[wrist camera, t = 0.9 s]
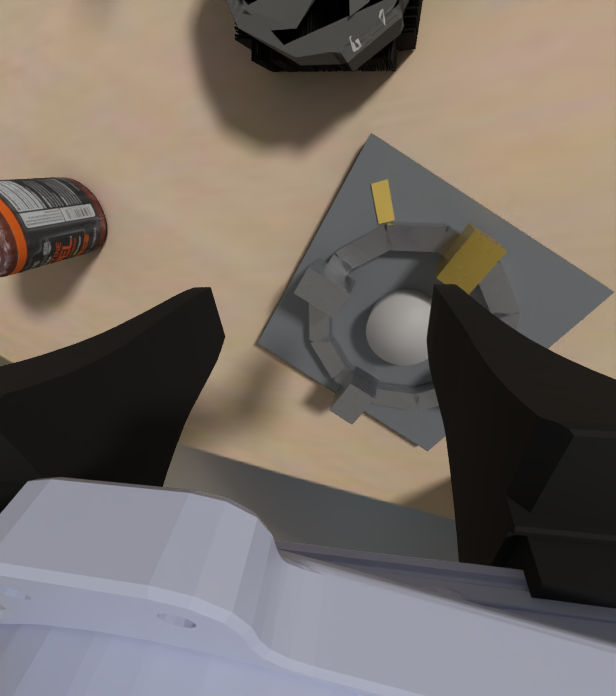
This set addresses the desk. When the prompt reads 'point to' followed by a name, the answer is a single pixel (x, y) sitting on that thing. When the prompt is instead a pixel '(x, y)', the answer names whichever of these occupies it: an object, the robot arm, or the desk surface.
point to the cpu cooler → (326, 33)
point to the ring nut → (453, 268)
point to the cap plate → (416, 284)
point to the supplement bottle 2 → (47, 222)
